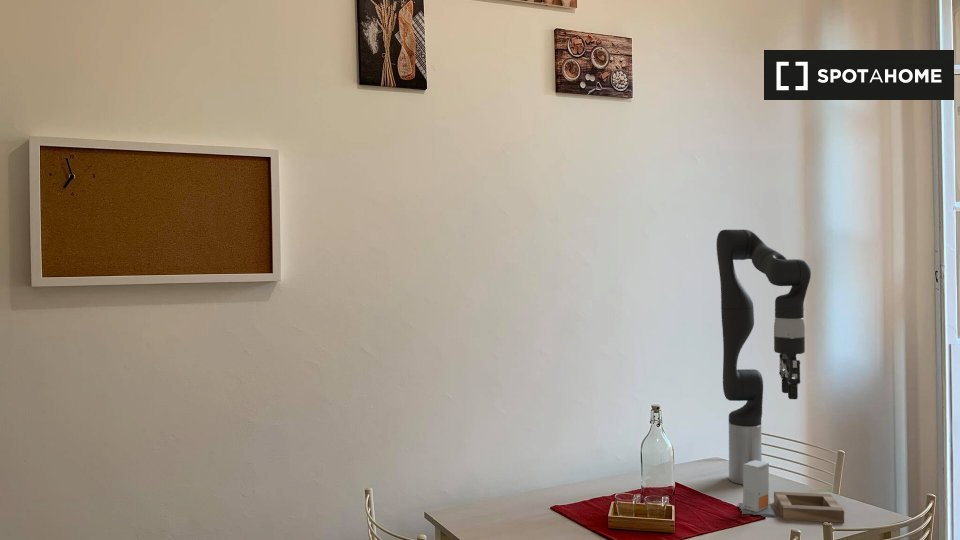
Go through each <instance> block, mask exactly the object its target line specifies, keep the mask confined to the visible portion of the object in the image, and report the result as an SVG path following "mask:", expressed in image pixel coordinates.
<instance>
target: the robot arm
mask: <svg viewBox="0 0 960 540" xmlns="http://www.w3.org/2000/svg"><path fill="white" fill-rule="evenodd" d="M716 255H717V257H716V258H717V264H718V271H719V281H720V305H721V306H720V309H721V311H720V312H721V313H720V314H721V325H722V326H721V328H722V339H723V340H722V343H723V344H722V345H723V348H722V349H723V356H722V357H723V358H722V360H723V363H722V390H723V394H724V397H725V399H726V400H728V401H733V402H736V401H739V402H745V401H746V403H745V404H744V405H743V406H741V407H740V408H737V409H735V410H732V411H731V412H729V414H728V480H729V481H730V482H732V483H734V484H740V485H743V464H746V463H748V462H750V461H754V460H757V461H761V462H763V461H762V460H763V459H762V455H763V454H762V448H763V447H762V417H763V402H764V401H763V400H764V399H763V398H764V397H763V396H764V379H763V375H762V373H761V372H760V370H758V369H752V368H750V369H747V368H746V369H738V360H739V356H740V352H741V350H742V348H743V347H744V345H745V343H746V341H747V340H748V338H749V337H750V335H751V334H752V331H753V328H754V327H755V314H754V312H755V311H754V310H755V309H754V302H753V300H752V298H751V296H750V294H749V293H748V292H747V290H746V288H745V287H744V286H743V285H742V283H741V281H740V280H739V277H738V276H737V272H736V270H735V264H734V261H740V260H741V261H745V260H751V263H752V265H753V267H754V268H755V269H756V270H757V271H759V272H760V273H762V274H764V275H765V276H766V278H767V279H768V282H769V283H770V284H771V285H773V286H778V287H790V289H789V292H787V293H785V294H781V295H778V296H777V297H776V298H775V301H774V317H775V318H774V324H773V347H774V348H773V351H774V353H777V354H779V372H778V375H779V376H780V379H781V392H782V394H787V397H788V398H787V399H789V400H797V399H798V397H799V396H798V389H799V387H798V386H799V384H801V361H800V360H799V359H797V355H801V354H804V353H805V351H806V347H805V346H806V344H805V342H806V341H805V340H806V339H805V338H806V336H805V335H806V334H805V333H806V329H805V328H806V327H805V320H804V319H805V318H804V310H805V309H804V306H805V305H804V304H805V298H806V294H807V292H808V288H809V284H810V282H811V281H810V280H811V276H812V271H811V270H812V269H811V267H810V265H809V263H808V261H806V260H805V259H798V258H797V259H796V258H794V259H792V258H791V259H789V258H787V257H786V256H785V255H784V254H783V253H781V252H779V251H777V250H776V249H774V248H771V247H769V246H768V245H767V244H766V243H765V242H764V241H763V239H761V238H760V236H758V235H757V234H756V233H754V232H753V231H751V230H749V229H722V230H720V231H719V232H718V234H717V237H716Z"/></svg>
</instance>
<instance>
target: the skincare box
mask: <svg viewBox="0 0 960 540" xmlns="http://www.w3.org/2000/svg"><path fill="white" fill-rule="evenodd" d="M769 465H770V464H769V462H766V461H762V462H761V461H757V460H754V461H750V462H748V463H746V464H743V484H742V503H743V509H747V510H750V511H754V512H758V511H761V510H763V509H766V508H768V504H769V501H770V500H769V497H770V496H769V486H770V483H769V482H770V481H769V476H770V475H769V474H770V473H769V472H770V470H769Z"/></svg>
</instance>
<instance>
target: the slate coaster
mask: <svg viewBox="0 0 960 540" xmlns="http://www.w3.org/2000/svg"><path fill="white" fill-rule="evenodd" d="M737 505H739V506H738V507H740V508H739V510H740V509H741V510H740V512H741V511H742V513H741V515H742V514H753V515H761V516H760V517H771V518H773V517H774V518H776V514H775V511H774V510H773V508H772V506H771V505H770V504H769V503H768V508H766V509H763V510H761V511H758V512H754V511H750V510H747V509H743V502H738V504H737Z"/></svg>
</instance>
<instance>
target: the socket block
mask: <svg viewBox="0 0 960 540" xmlns="http://www.w3.org/2000/svg"><path fill="white" fill-rule="evenodd" d="M773 503H774V505H775V506H776V508H777V510H778V511H779V514H780V515H781V518H782V519H783V520H787V521H788V520H791V521H792V520H793V521H812V522H825V521H828V522H829V523H845V510H844V509H843V507H842V506H841V504H839V502H838V501H837V500H836V499H835V497H834V496H833V495H832V494H831V493H816V492H815V493H814V492H813V493H812V492H792V491H791V492H790V491H773ZM828 522H827V523H828Z"/></svg>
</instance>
